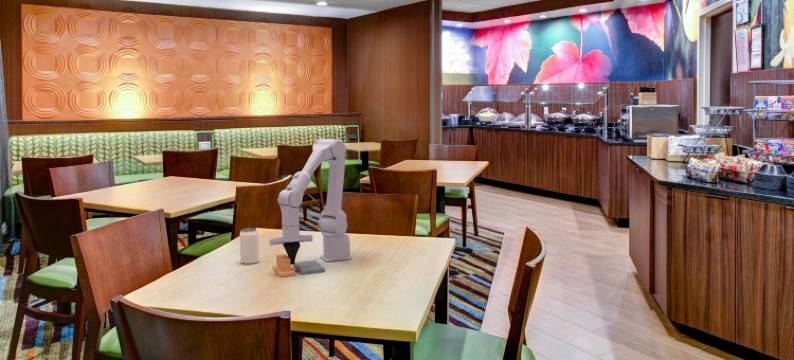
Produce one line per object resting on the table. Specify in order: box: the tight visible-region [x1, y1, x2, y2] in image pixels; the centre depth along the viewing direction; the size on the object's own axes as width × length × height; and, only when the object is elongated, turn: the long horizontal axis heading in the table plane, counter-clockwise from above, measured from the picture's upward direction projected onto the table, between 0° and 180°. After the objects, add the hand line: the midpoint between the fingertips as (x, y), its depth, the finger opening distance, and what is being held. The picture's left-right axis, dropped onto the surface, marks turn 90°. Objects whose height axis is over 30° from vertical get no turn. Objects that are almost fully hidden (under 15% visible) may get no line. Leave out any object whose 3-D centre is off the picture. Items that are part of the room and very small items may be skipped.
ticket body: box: [292, 259, 326, 275], centre depth 212 cm, size 8×12×1 cm, turn 23°
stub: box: [272, 253, 296, 278], centre depth 208 cm, size 5×12×5 cm, turn 23°
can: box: [239, 227, 260, 265], centre depth 221 cm, size 6×6×12 cm
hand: (291, 263), depth 209 cm, fingers closed
